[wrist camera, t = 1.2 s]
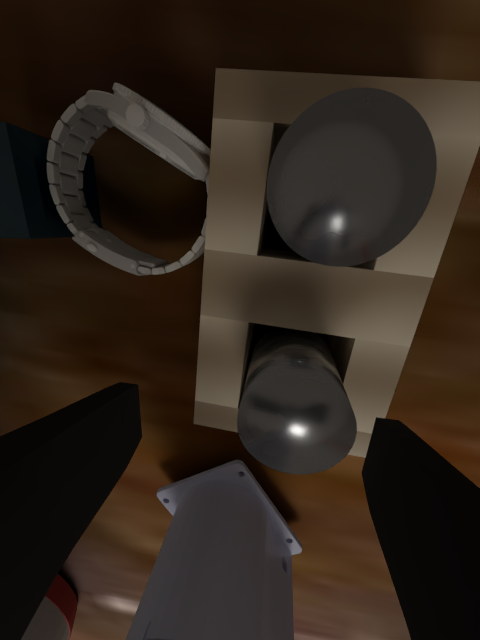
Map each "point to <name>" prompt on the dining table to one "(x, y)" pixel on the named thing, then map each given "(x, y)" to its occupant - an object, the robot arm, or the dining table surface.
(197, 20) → the dining table surface
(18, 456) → the robot arm
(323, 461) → the steel peg
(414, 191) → the steel peg
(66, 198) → the watch
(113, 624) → the dining table surface
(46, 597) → the citrus juicer
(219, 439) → the dining table surface
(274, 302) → the press block
